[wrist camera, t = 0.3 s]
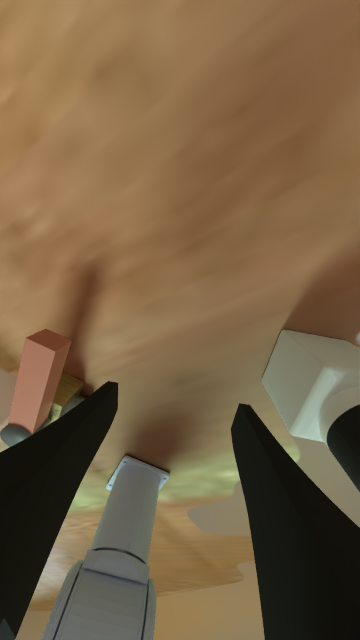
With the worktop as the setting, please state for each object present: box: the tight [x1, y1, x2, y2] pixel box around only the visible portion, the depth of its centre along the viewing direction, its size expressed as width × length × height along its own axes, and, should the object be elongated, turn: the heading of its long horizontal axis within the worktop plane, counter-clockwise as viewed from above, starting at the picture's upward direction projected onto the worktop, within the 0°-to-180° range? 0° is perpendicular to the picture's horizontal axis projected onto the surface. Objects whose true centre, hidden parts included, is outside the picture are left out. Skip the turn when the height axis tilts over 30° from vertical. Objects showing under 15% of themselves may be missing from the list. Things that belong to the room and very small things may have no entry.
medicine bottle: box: [262, 330, 360, 492], centre depth 14 cm, size 7×7×12 cm
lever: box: [0, 329, 72, 447], centre depth 17 cm, size 14×3×2 cm, turn 153°
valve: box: [48, 372, 87, 423], centre depth 22 cm, size 6×8×4 cm
